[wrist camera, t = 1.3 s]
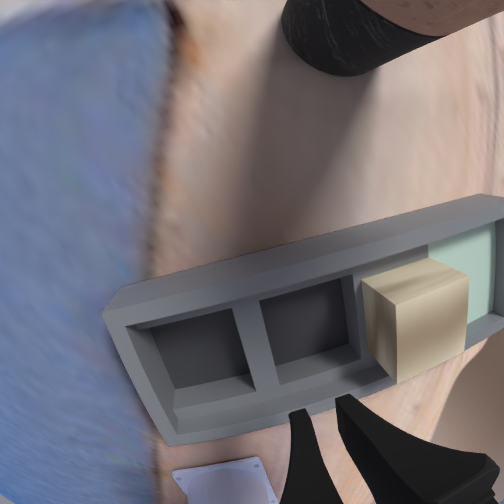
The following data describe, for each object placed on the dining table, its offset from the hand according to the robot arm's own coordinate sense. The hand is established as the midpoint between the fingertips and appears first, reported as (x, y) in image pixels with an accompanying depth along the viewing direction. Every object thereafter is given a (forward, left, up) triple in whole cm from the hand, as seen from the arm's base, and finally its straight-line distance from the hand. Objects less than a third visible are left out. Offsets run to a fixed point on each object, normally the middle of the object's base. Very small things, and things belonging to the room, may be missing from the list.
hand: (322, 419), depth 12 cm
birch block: (0, -7, -7) cm, 10 cm away
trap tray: (0, -4, -9) cm, 10 cm away
